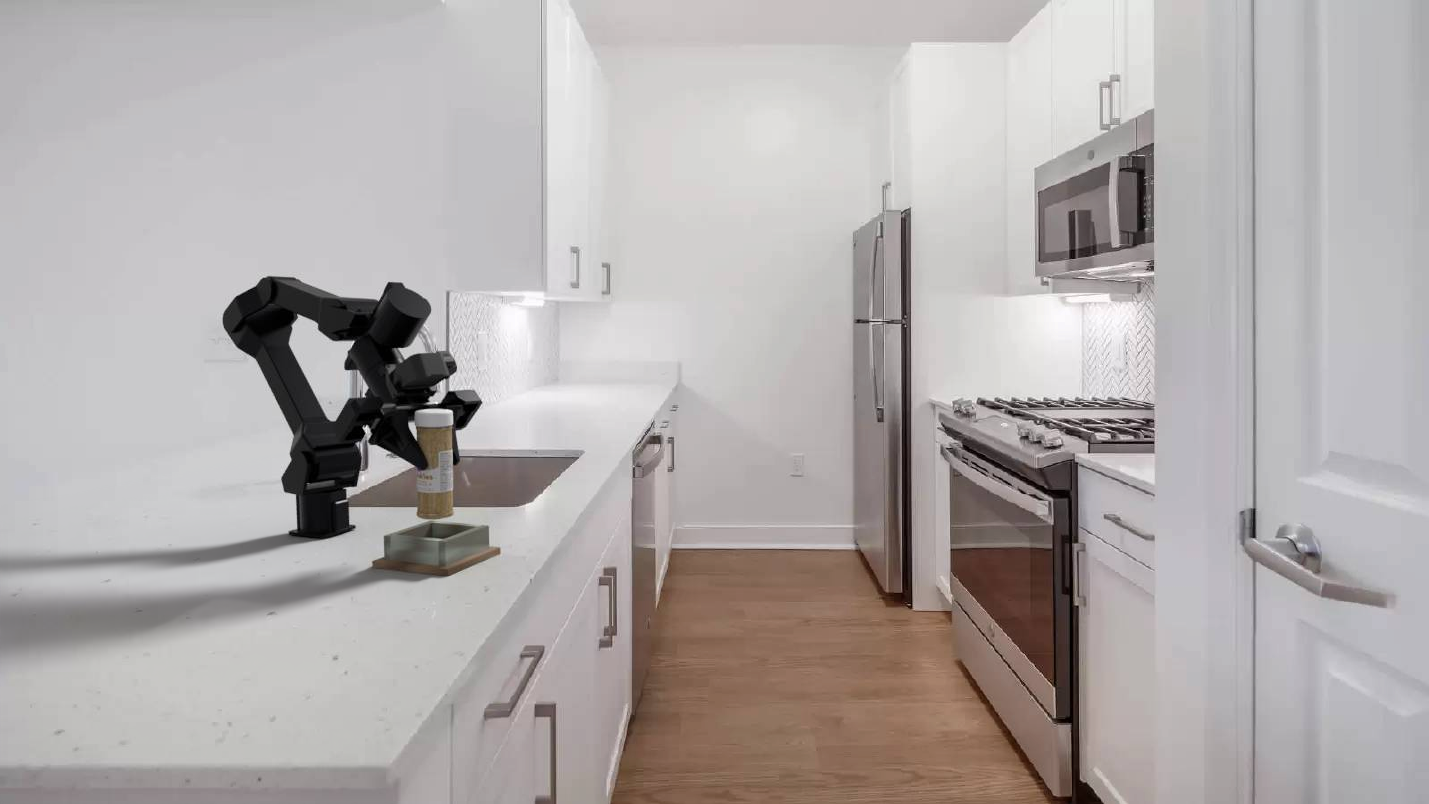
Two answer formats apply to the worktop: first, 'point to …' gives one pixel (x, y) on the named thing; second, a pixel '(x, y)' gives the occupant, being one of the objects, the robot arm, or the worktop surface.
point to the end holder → (436, 548)
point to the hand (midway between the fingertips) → (441, 465)
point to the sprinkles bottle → (435, 463)
